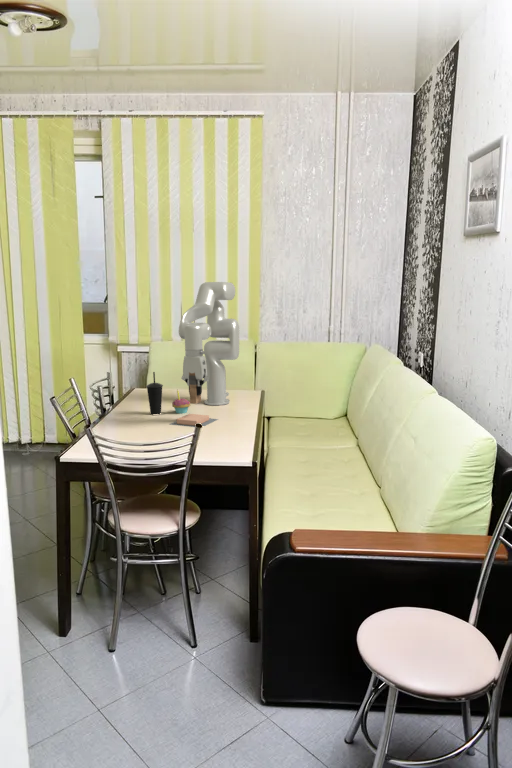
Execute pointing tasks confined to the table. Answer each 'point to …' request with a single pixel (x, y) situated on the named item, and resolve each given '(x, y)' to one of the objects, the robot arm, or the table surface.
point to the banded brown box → (193, 389)
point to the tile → (192, 419)
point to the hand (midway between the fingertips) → (195, 394)
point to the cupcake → (180, 405)
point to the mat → (194, 426)
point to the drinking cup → (155, 396)
